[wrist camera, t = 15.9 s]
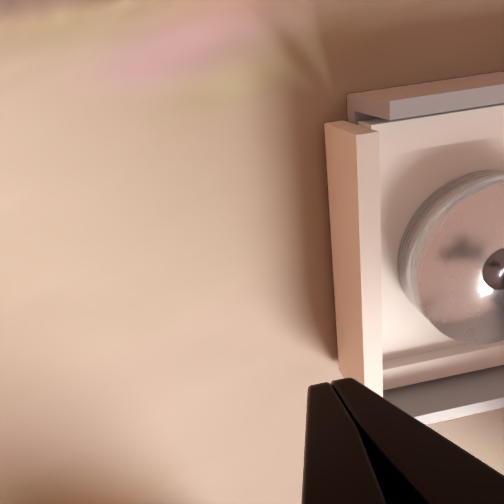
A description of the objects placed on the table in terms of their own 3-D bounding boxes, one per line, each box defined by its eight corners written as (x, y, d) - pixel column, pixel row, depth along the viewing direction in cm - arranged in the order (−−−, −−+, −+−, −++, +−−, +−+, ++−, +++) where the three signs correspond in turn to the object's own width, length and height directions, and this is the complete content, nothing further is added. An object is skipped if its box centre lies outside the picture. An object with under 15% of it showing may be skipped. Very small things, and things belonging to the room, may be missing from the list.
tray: (591, 82, 20) (674, 85, 16) (553, 324, 24) (611, 363, 21) (324, 123, 18) (356, 135, 15) (338, 369, 23) (365, 418, 20)
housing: (616, 54, 20) (719, 52, 16) (568, 332, 25) (636, 377, 21) (346, 94, 18) (389, 101, 15) (357, 376, 24) (391, 432, 20)
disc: (578, 205, 20) (621, 220, 18) (490, 337, 22) (520, 363, 20) (453, 142, 18) (486, 152, 16) (368, 294, 20) (388, 318, 18)
